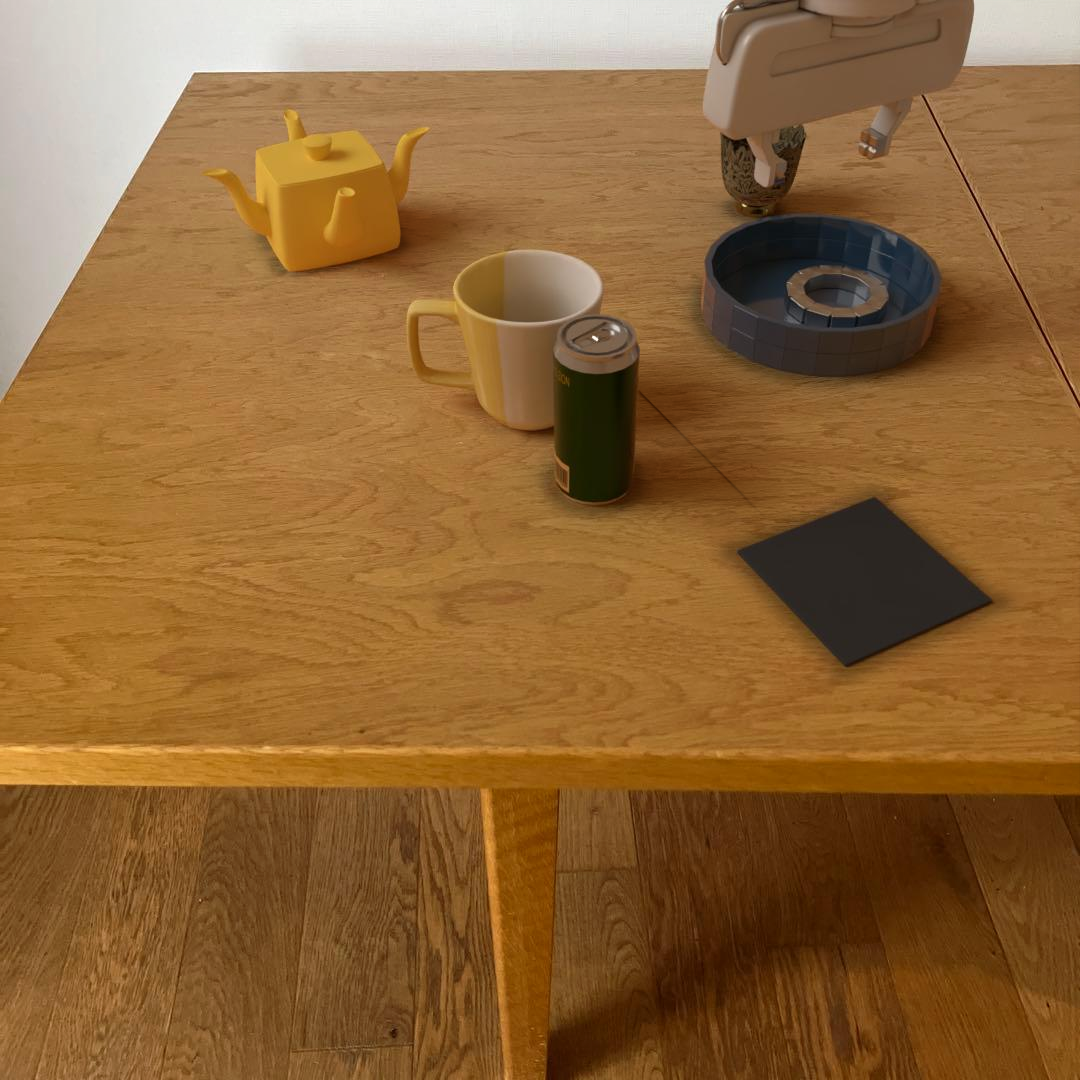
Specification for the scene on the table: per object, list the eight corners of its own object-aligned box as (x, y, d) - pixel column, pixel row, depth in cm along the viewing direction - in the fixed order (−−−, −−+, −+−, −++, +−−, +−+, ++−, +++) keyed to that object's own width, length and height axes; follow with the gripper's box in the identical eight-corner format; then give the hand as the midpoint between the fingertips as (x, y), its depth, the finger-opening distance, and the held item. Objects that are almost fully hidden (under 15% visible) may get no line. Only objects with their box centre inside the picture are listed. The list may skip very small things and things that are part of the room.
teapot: (219, 267, 104) (196, 161, 98) (297, 196, 114) (281, 96, 108) (370, 295, 101) (357, 187, 94) (437, 219, 110) (429, 116, 104)
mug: (614, 380, 91) (618, 256, 84) (582, 462, 84) (583, 334, 77) (444, 355, 94) (433, 234, 87) (398, 432, 86) (383, 306, 79)
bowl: (834, 242, 106) (842, 195, 103) (978, 342, 94) (992, 292, 91) (658, 294, 100) (661, 246, 97) (788, 408, 88) (796, 356, 85)
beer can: (585, 521, 79) (587, 370, 71) (539, 479, 82) (535, 330, 74) (649, 491, 81) (658, 340, 73) (601, 451, 84) (605, 303, 76)
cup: (729, 189, 114) (737, 106, 108) (804, 204, 111) (816, 120, 106) (701, 223, 109) (708, 138, 103) (780, 239, 106) (791, 154, 101)
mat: (873, 503, 80) (874, 496, 79) (990, 607, 73) (992, 600, 72) (736, 556, 76) (737, 549, 76) (844, 671, 69) (846, 664, 69)
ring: (843, 271, 101) (846, 256, 100) (906, 315, 96) (909, 300, 95) (765, 294, 98) (767, 279, 98) (825, 342, 93) (827, 326, 92)
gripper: (750, 10, 73) (727, 218, 82) (1004, -41, 80) (956, 157, 89) (693, -20, 77) (678, 181, 86) (940, -66, 84) (901, 125, 93)
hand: (821, 168), depth 88 cm, fingers open, 8 cm apart
